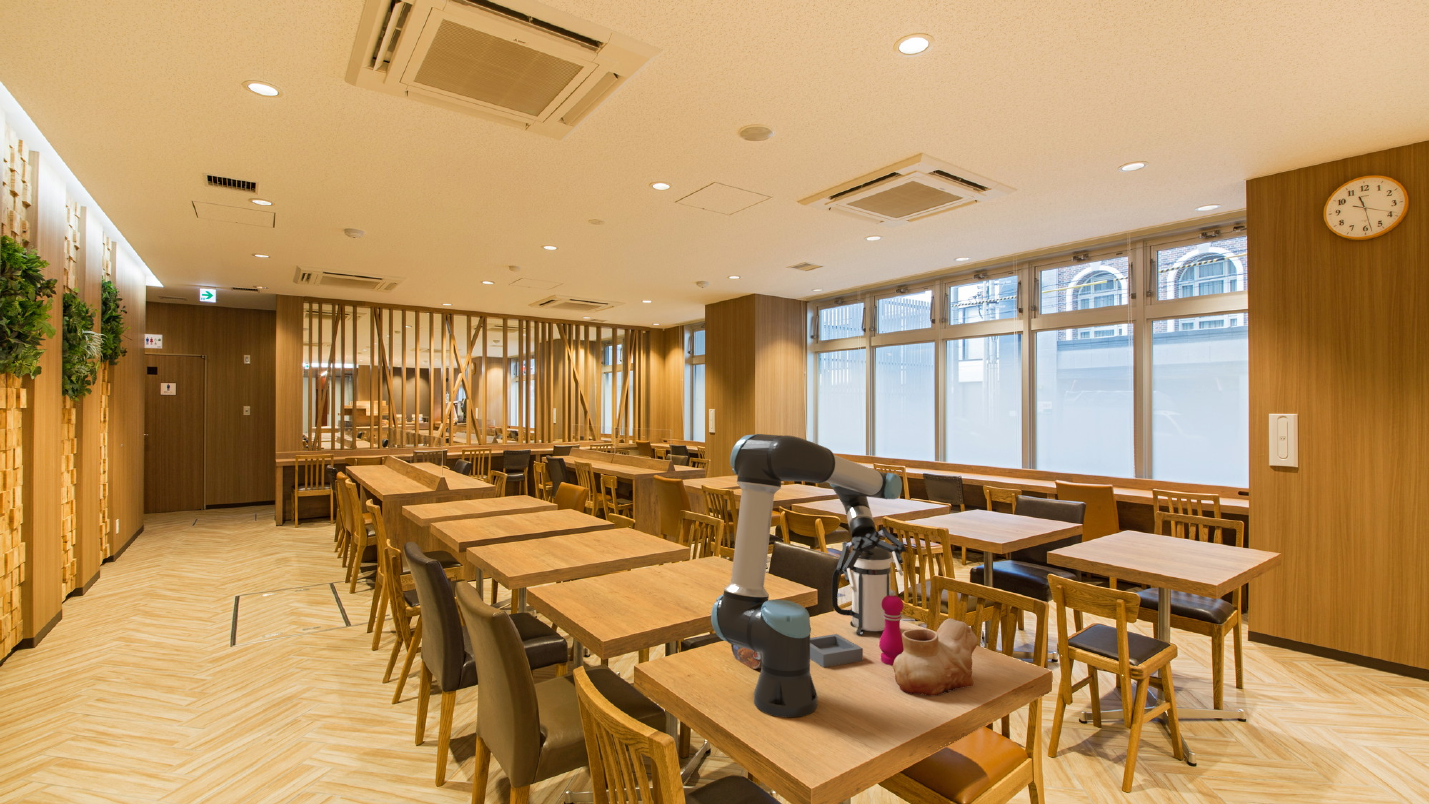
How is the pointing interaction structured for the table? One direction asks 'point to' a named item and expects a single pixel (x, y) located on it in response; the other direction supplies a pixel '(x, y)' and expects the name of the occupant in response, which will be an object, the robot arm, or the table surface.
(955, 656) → the ceramic vessel
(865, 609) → the coffee press
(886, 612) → the pepper mill
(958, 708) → the table surface
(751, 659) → the tin
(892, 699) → the table surface
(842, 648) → the charcoal tray
